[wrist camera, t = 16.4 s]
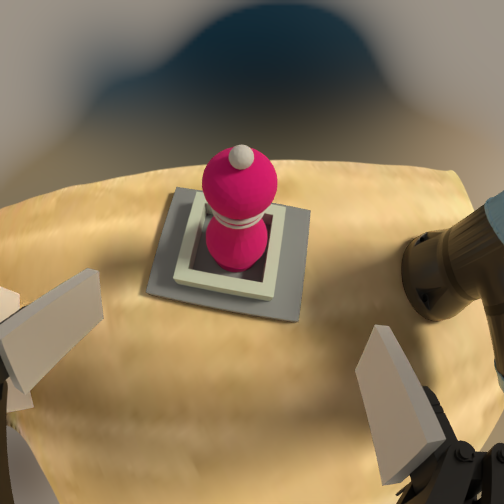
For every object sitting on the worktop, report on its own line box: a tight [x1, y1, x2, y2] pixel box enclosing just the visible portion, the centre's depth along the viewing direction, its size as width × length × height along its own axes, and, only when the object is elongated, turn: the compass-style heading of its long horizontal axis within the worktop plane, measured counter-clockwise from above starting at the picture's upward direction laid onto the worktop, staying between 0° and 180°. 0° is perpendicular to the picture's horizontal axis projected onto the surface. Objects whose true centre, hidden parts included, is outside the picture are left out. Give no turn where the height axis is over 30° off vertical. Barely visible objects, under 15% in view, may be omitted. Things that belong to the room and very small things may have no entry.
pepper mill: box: [202, 145, 277, 272], centre depth 27 cm, size 7×7×20 cm
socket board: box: [146, 187, 311, 322], centre depth 36 cm, size 20×16×4 cm
